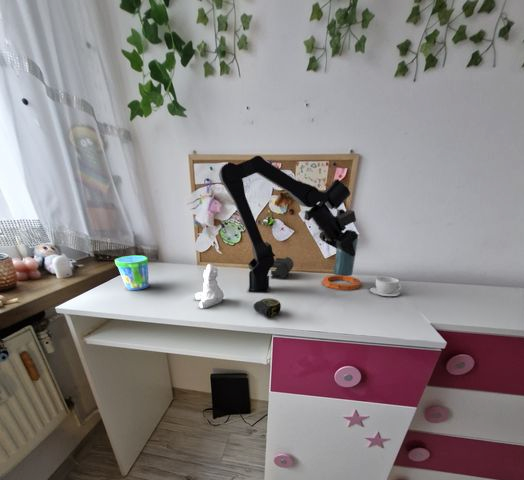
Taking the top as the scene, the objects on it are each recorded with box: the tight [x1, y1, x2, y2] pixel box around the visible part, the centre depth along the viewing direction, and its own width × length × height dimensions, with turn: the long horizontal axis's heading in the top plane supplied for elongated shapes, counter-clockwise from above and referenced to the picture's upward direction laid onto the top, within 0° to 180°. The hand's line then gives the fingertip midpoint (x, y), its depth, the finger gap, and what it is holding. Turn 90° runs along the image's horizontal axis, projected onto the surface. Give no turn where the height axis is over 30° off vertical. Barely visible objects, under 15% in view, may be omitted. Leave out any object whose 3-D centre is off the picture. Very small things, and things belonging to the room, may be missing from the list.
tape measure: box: [253, 298, 282, 318], centre depth 79 cm, size 7×7×4 cm
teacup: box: [369, 276, 403, 297], centre depth 96 cm, size 10×10×5 cm
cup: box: [332, 233, 360, 277], centre depth 99 cm, size 7×7×14 cm
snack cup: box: [114, 255, 149, 291], centre depth 97 cm, size 16×10×10 cm
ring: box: [322, 274, 362, 291], centre depth 104 cm, size 14×14×2 cm
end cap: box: [270, 256, 294, 280], centre depth 112 cm, size 10×7×7 cm
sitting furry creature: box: [194, 263, 224, 309], centre depth 85 cm, size 10×9×12 cm
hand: (349, 253), depth 99 cm, fingers closed on cup, 7 cm apart
